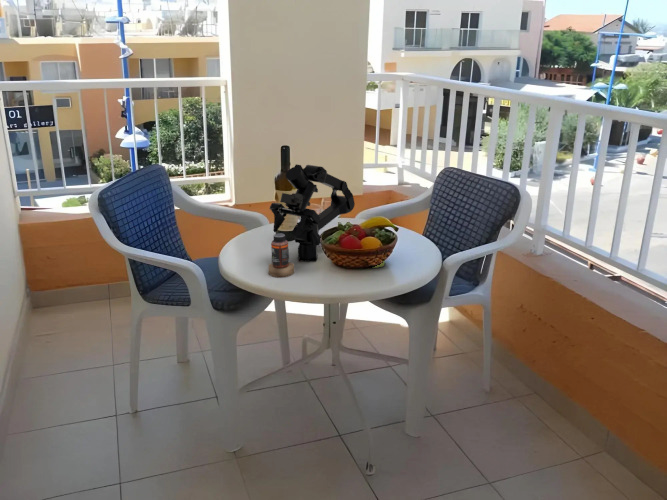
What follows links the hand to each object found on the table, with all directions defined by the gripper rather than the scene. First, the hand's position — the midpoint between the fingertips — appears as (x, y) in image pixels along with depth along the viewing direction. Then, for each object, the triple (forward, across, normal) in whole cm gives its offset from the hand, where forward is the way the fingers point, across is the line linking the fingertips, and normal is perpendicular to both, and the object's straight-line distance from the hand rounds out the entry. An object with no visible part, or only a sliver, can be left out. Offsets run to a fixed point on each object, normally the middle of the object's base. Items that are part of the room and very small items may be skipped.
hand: (284, 233), depth 201 cm
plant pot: (-6, +24, +25) cm, 35 cm away
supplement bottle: (+10, 0, +6) cm, 12 cm away
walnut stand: (+11, 0, +8) cm, 14 cm away
